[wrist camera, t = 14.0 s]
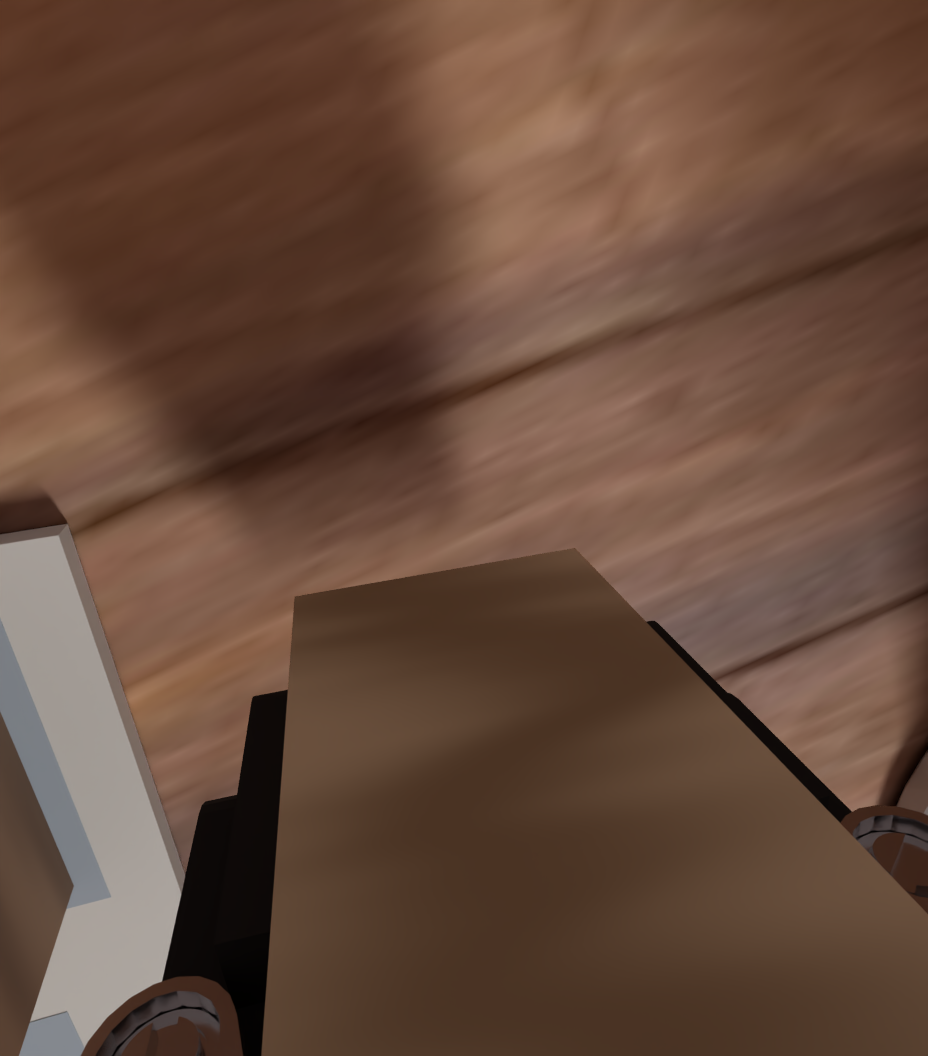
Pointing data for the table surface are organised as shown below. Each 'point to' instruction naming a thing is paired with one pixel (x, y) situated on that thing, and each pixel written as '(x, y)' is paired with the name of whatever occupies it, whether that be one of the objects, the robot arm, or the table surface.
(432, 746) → the oak post
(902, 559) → the table surface
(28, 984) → the foundation
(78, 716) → the pad
